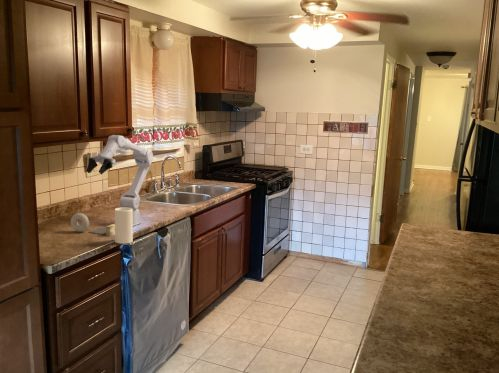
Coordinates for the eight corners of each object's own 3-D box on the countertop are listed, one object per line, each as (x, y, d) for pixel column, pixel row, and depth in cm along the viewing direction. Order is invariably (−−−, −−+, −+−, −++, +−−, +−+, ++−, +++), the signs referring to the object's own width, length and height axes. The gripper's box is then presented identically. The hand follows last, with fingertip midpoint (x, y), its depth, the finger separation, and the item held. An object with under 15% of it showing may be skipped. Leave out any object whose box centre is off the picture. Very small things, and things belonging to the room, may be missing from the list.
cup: (126, 238, 223) (125, 206, 221) (136, 241, 218) (136, 209, 216) (111, 241, 217) (111, 208, 215) (121, 244, 212) (121, 211, 210)
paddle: (123, 229, 240) (123, 220, 239) (127, 230, 239) (127, 221, 238) (105, 235, 227) (105, 226, 226) (109, 236, 226) (109, 226, 225)
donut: (90, 232, 232) (90, 213, 231) (86, 233, 229) (86, 214, 227) (73, 230, 234) (73, 211, 233) (69, 231, 231) (69, 212, 230)
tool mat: (112, 225, 247) (112, 224, 247) (125, 227, 244) (125, 226, 244) (89, 232, 231) (89, 231, 231) (103, 235, 227) (103, 234, 227)
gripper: (92, 146, 227) (78, 165, 219) (115, 148, 222) (102, 167, 214) (99, 156, 233) (85, 175, 225) (121, 158, 227) (108, 177, 219)
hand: (93, 172), depth 220 cm, fingers open, 7 cm apart
